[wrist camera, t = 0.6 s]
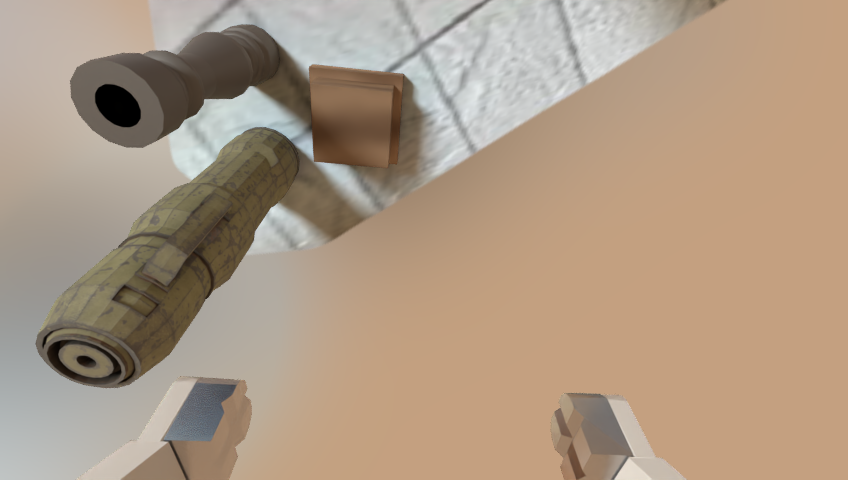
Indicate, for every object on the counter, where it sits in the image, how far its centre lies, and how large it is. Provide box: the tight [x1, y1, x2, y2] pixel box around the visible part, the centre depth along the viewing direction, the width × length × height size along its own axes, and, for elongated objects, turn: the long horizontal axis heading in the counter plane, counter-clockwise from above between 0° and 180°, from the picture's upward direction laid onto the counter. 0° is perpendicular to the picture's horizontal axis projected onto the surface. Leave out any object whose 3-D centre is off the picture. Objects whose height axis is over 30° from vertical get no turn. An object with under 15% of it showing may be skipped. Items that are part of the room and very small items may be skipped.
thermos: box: [36, 127, 299, 388], centre depth 39 cm, size 9×12×35 cm
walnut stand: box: [309, 64, 403, 168], centre depth 48 cm, size 11×11×6 cm
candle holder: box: [70, 25, 280, 148], centre depth 36 cm, size 6×6×25 cm
